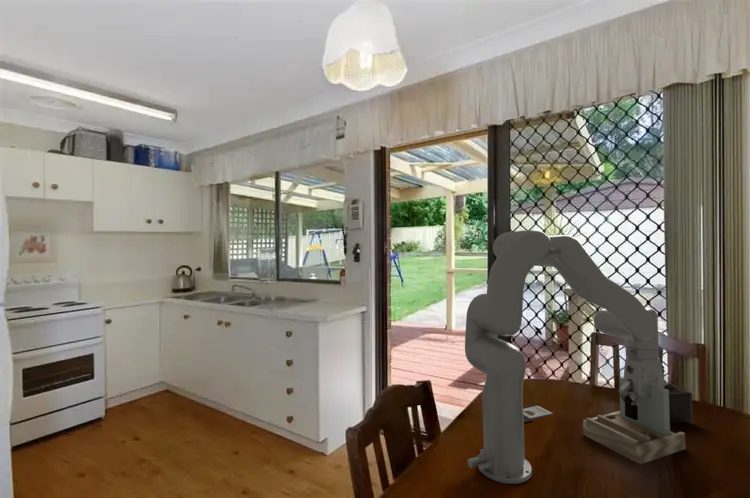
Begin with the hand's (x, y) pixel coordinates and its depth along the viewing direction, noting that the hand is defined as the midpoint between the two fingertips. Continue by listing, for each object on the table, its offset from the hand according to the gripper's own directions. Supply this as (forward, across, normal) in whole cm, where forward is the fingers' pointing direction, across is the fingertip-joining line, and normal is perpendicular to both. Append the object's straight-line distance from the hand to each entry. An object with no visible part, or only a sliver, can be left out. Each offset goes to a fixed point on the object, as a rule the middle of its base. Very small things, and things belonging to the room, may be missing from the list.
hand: (643, 414), depth 104 cm
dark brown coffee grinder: (+8, +20, +9) cm, 23 cm away
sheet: (+6, 0, 0) cm, 6 cm away
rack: (+7, -5, 0) cm, 9 cm away
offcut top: (+4, -5, 0) cm, 6 cm away
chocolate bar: (+8, -18, +26) cm, 33 cm away
